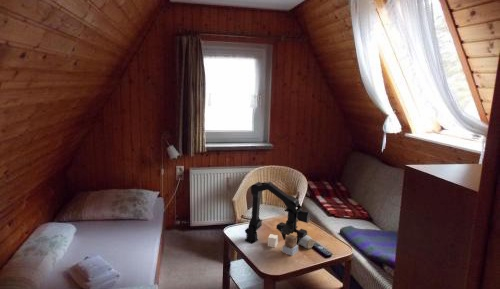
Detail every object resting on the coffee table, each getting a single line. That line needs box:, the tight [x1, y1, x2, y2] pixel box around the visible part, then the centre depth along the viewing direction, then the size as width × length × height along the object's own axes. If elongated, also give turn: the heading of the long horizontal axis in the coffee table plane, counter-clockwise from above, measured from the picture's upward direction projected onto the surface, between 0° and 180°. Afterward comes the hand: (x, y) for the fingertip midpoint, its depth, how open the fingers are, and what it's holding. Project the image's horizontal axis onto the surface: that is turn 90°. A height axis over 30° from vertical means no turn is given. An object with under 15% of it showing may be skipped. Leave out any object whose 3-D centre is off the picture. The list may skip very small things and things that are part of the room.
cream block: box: [267, 233, 279, 248], centre depth 214 cm, size 5×5×6 cm
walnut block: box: [284, 233, 297, 249], centre depth 205 cm, size 5×5×6 cm
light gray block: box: [282, 244, 299, 256], centre depth 206 cm, size 7×7×4 cm
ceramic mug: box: [298, 234, 315, 250], centre depth 214 cm, size 11×8×8 cm
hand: (290, 242), depth 206 cm, fingers open, 9 cm apart
